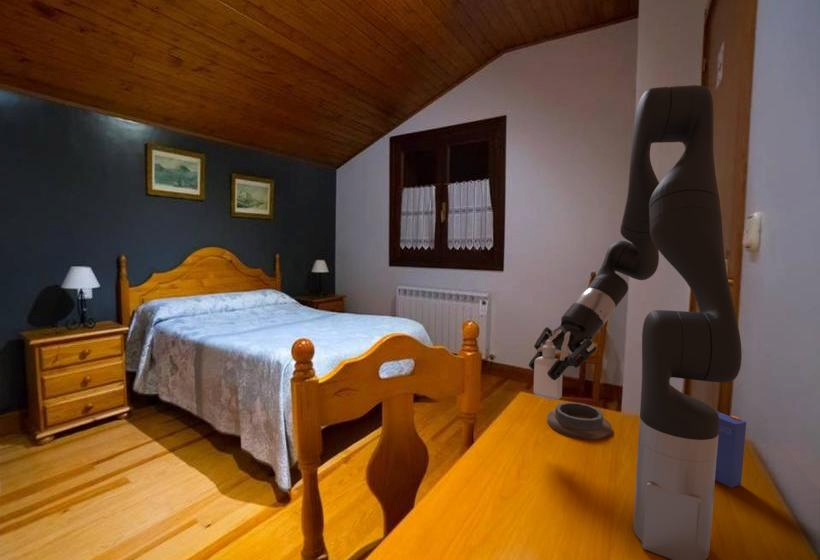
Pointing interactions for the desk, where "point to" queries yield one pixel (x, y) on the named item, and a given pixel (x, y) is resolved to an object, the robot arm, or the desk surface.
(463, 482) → the desk surface
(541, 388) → the eye dropper bottle
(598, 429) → the bottle collar
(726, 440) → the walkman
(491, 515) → the desk surface
